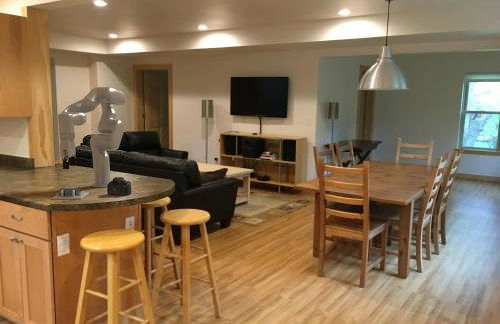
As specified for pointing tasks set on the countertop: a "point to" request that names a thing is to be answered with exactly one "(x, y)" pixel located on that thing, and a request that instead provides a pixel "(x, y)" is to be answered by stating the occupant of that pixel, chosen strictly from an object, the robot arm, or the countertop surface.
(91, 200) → the countertop surface
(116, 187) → the camera
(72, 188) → the drive
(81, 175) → the countertop surface
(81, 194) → the grey pegged board
